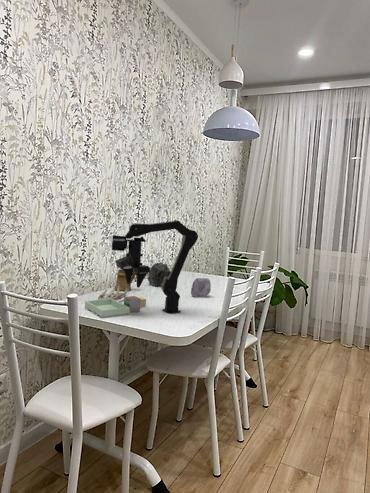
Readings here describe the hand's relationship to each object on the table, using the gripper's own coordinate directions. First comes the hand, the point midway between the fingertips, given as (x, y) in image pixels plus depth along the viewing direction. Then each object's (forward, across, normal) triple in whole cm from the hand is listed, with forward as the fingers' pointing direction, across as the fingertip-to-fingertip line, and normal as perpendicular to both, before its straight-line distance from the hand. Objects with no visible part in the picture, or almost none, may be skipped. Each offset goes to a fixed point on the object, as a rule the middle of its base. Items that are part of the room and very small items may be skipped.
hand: (133, 285), depth 174 cm
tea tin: (+12, 0, 0) cm, 12 cm away
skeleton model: (+12, -25, +3) cm, 28 cm away
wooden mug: (+12, -41, +19) cm, 47 cm away
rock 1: (+12, -46, +44) cm, 65 cm away
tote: (+12, -4, -11) cm, 16 cm away
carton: (+12, -6, +7) cm, 15 cm away
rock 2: (+12, -11, +49) cm, 52 cm away
